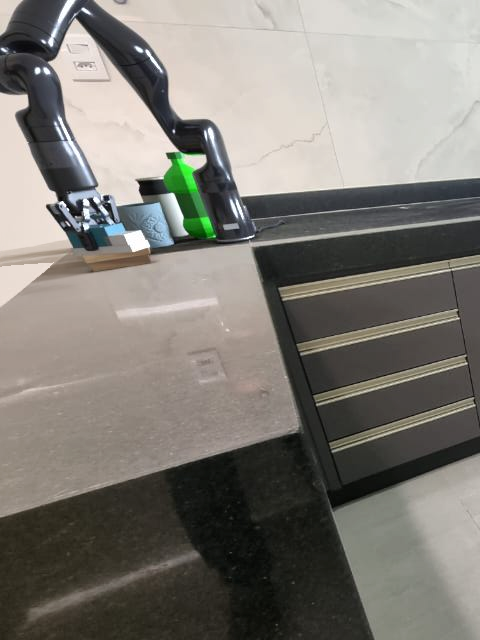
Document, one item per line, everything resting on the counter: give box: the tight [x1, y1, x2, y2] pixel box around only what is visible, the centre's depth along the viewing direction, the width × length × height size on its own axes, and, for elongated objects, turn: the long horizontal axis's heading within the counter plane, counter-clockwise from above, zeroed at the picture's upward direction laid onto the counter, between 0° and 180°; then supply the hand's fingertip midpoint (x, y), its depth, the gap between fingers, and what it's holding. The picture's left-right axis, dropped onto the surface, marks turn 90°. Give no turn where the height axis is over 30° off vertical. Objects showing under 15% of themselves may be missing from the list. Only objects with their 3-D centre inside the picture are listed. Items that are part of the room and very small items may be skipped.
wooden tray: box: [82, 232, 153, 273], centre depth 137 cm, size 18×12×6 cm, turn 41°
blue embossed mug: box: [116, 202, 175, 249], centre depth 154 cm, size 10×10×12 cm
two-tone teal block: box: [64, 222, 150, 257], centre depth 114 cm, size 12×5×6 cm, turn 95°
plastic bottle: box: [163, 151, 216, 240], centre depth 161 cm, size 10×10×25 cm
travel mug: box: [134, 175, 190, 239], centre depth 166 cm, size 8×8×18 cm
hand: (103, 247), depth 115 cm, fingers closed on two-tone teal block, 5 cm apart
